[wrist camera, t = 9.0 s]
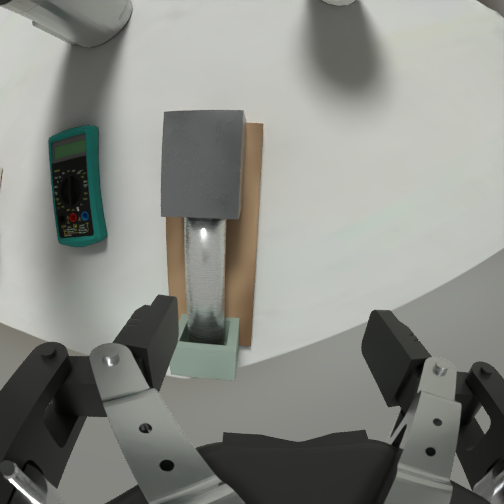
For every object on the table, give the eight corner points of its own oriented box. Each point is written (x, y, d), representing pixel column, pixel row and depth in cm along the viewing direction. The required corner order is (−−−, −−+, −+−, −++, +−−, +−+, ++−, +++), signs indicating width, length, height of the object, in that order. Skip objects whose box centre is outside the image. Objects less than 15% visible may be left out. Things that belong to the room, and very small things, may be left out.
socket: (184, 340, 35) (171, 374, 28) (182, 313, 34) (167, 345, 27) (238, 345, 35) (235, 380, 28) (239, 318, 34) (235, 352, 27)
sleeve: (180, 205, 30) (161, 216, 23) (183, 122, 27) (164, 111, 21) (242, 208, 30) (238, 219, 23) (246, 122, 27) (243, 110, 21)
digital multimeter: (68, 243, 33) (56, 249, 30) (58, 136, 29) (45, 136, 26) (110, 240, 33) (99, 247, 30) (101, 124, 29) (88, 122, 26)
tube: (193, 338, 33) (186, 358, 29) (190, 175, 28) (180, 176, 24) (225, 341, 33) (222, 362, 29) (230, 176, 28) (225, 177, 24)
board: (175, 333, 36) (173, 339, 35) (172, 125, 29) (168, 123, 27) (250, 339, 36) (250, 345, 35) (262, 125, 29) (263, 123, 27)
